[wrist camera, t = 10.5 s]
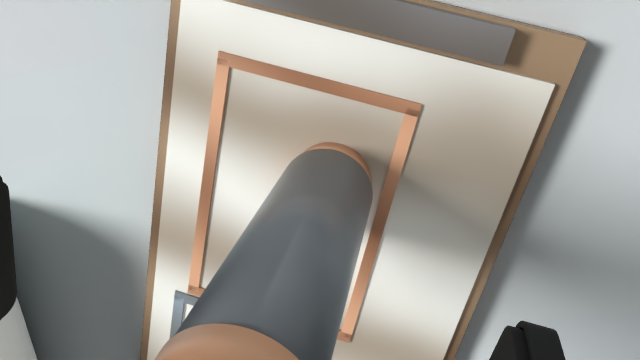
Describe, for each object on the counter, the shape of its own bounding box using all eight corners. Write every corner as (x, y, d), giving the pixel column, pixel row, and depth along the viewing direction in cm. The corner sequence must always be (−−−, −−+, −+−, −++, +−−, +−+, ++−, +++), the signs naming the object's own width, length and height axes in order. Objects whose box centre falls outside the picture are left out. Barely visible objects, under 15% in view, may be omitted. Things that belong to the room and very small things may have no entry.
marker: (296, 125, 17) (130, 342, 8) (388, 150, 17) (326, 404, 8) (280, 206, 19) (120, 473, 9) (365, 230, 18) (288, 530, 9)
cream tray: (187, -60, 17) (109, -59, 13) (580, 36, 16) (627, 69, 12) (140, 430, 26) (87, 517, 22) (384, 512, 25) (373, 619, 21)
